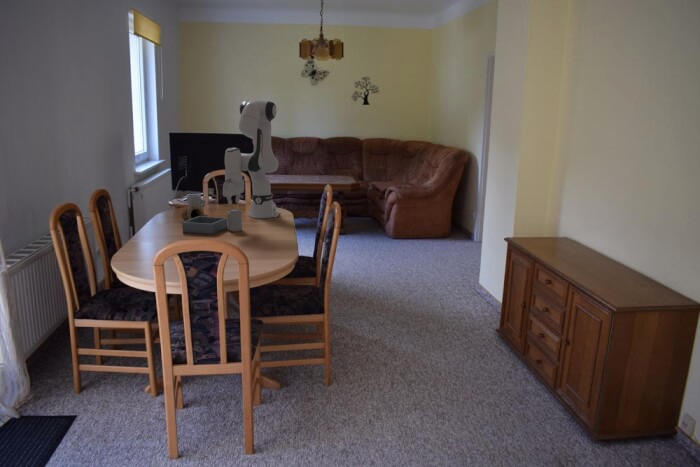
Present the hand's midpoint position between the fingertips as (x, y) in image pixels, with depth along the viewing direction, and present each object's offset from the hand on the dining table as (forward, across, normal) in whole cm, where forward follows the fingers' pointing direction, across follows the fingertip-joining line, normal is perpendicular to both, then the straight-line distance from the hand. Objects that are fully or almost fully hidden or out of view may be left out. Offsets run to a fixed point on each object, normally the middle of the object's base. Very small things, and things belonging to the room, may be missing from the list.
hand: (233, 202), depth 308 cm
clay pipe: (+16, +17, +35) cm, 42 cm away
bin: (+16, -3, +16) cm, 23 cm away
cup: (+16, +41, +46) cm, 63 cm away
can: (+16, +1, 0) cm, 16 cm away
